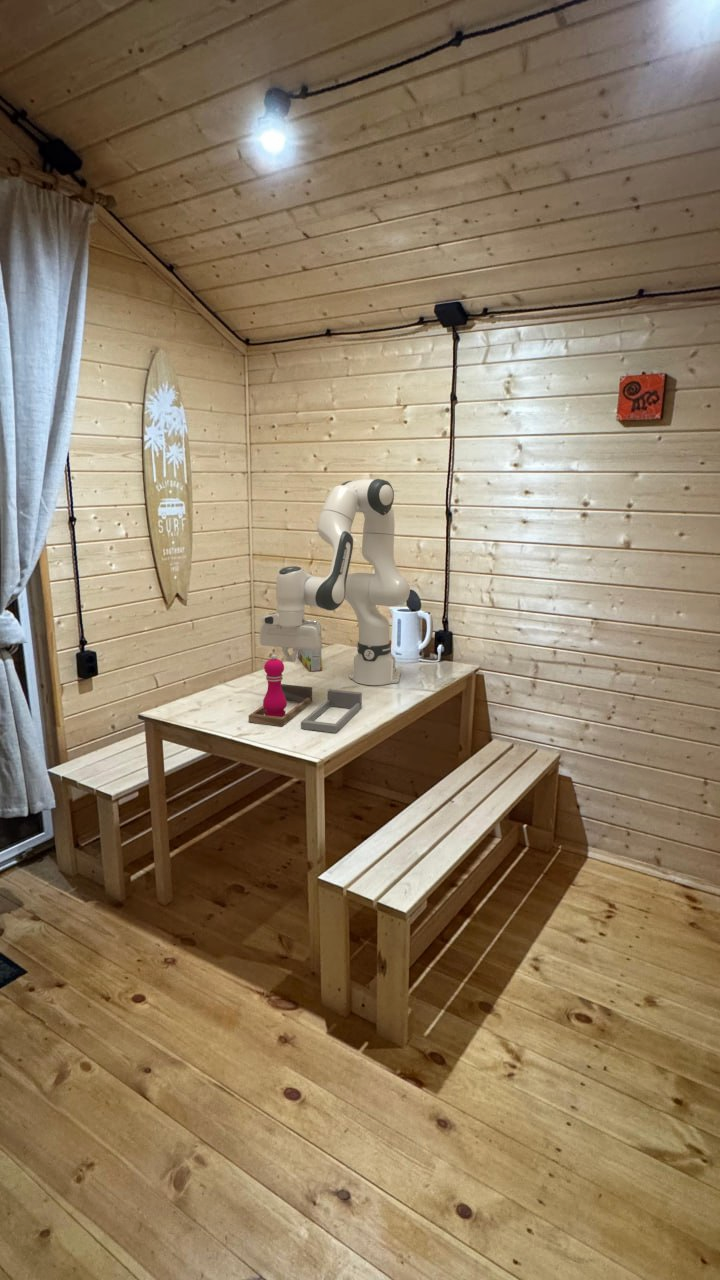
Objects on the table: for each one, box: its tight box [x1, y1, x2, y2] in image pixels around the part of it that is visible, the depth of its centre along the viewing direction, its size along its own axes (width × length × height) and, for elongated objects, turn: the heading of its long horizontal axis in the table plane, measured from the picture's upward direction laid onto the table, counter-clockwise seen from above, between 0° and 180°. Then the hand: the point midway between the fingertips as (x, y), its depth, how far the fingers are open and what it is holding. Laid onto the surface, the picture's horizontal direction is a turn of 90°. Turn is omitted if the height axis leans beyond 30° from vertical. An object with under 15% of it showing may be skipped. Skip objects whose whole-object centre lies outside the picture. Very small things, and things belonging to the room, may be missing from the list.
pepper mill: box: [262, 653, 288, 717], centre depth 211 cm, size 7×7×20 cm
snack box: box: [297, 632, 323, 673], centre depth 271 cm, size 21×6×15 cm, turn 17°
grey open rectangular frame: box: [300, 688, 363, 734], centre depth 212 cm, size 24×11×5 cm, turn 162°
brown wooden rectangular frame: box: [248, 683, 313, 727], centre depth 217 cm, size 24×11×5 cm, turn 162°
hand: (290, 661), depth 221 cm, fingers closed
